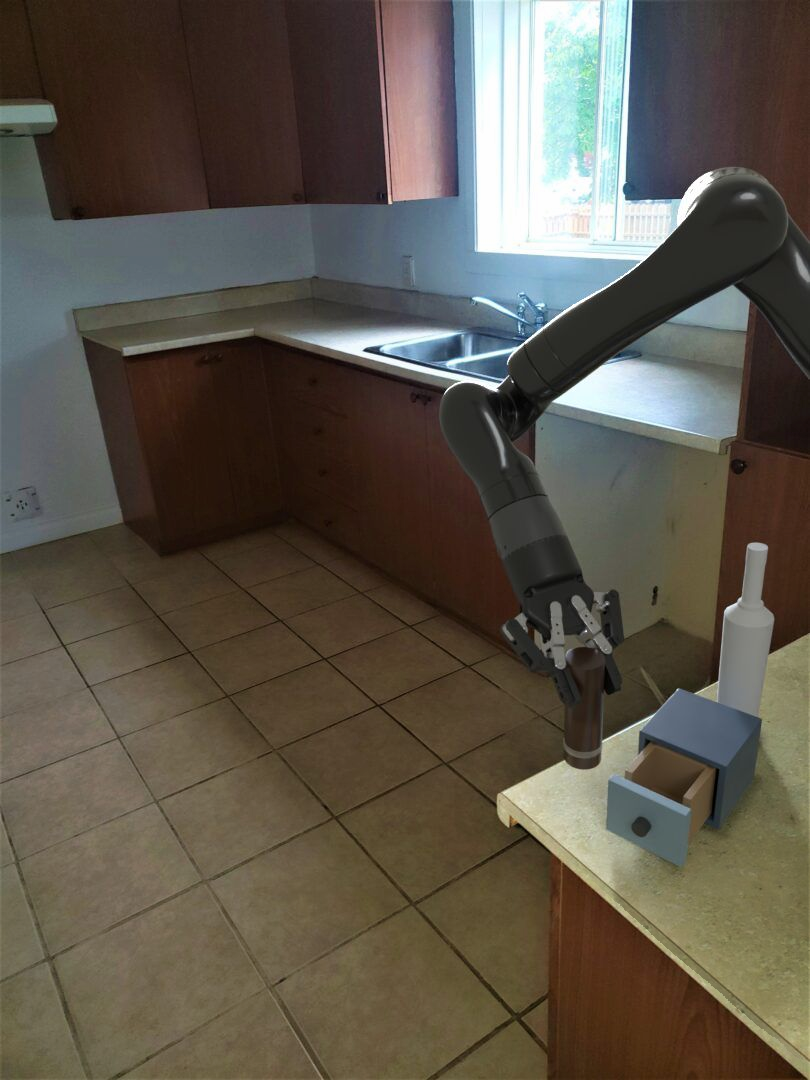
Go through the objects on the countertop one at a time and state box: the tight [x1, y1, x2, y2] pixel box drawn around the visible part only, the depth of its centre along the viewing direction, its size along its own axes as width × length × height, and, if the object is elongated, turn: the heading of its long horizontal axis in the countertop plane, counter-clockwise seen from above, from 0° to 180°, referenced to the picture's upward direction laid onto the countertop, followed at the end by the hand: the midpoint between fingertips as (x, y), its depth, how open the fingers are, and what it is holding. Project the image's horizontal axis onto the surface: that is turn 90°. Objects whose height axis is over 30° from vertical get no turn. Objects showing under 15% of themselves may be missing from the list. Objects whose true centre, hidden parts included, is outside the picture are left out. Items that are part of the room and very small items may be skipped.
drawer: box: [605, 741, 716, 868], centre depth 83 cm, size 10×8×7 cm
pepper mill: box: [562, 646, 605, 771], centre depth 86 cm, size 4×4×13 cm
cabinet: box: [637, 687, 763, 831], centre depth 89 cm, size 9×9×8 cm
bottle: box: [716, 542, 775, 718], centre depth 92 cm, size 5×5×25 cm
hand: (595, 698), depth 83 cm, fingers closed on pepper mill, 4 cm apart
